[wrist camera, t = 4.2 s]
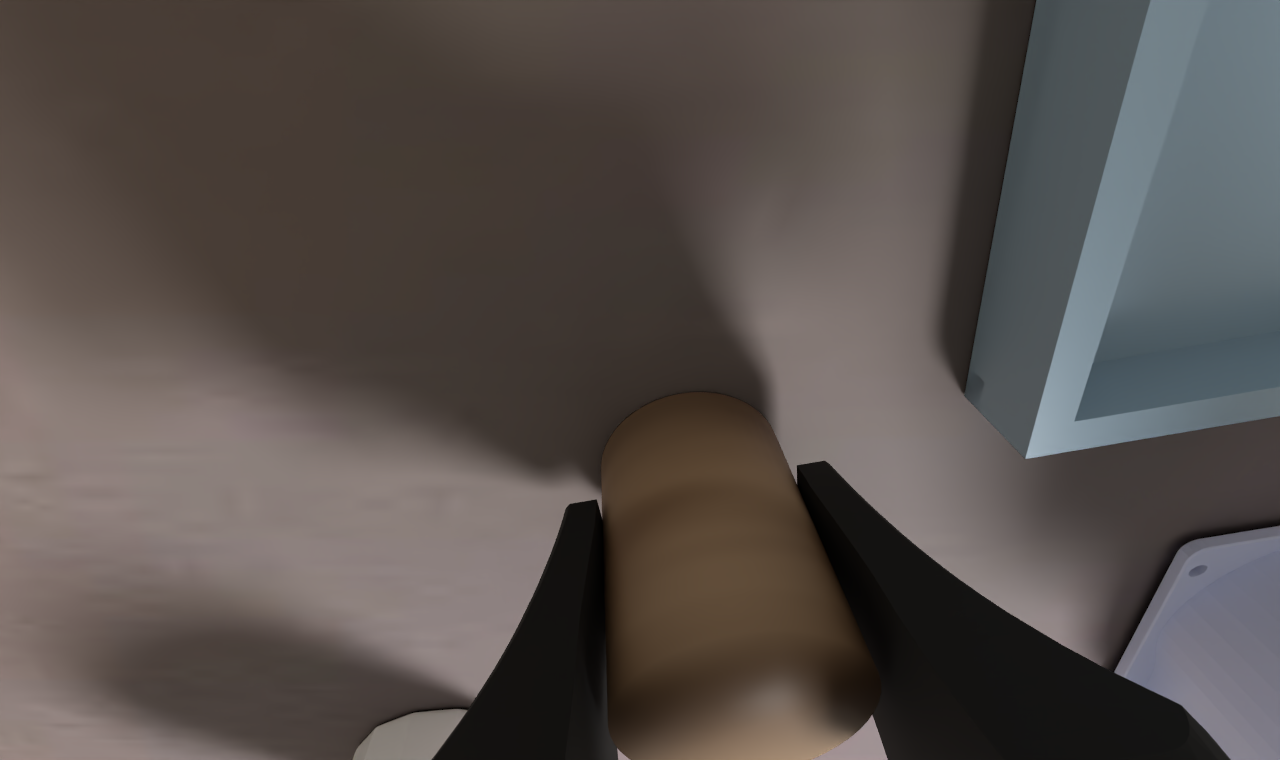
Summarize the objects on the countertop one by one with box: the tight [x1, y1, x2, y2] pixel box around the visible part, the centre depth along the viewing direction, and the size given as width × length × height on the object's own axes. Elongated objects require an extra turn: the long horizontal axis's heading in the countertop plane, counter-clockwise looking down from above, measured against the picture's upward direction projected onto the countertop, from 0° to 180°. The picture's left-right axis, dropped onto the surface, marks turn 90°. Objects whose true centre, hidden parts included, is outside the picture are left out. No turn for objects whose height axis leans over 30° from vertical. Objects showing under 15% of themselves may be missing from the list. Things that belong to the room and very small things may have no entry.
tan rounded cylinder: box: [601, 392, 881, 760], centre depth 12 cm, size 4×4×6 cm
